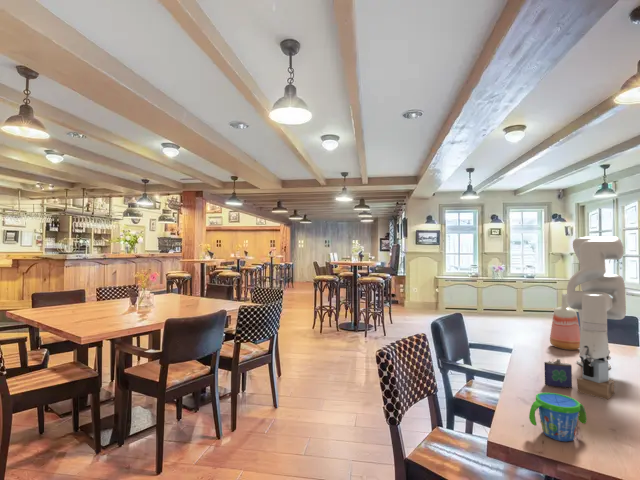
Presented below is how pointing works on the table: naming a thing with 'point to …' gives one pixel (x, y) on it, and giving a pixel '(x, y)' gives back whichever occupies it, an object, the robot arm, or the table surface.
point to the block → (596, 388)
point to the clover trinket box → (558, 374)
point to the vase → (565, 327)
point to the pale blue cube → (599, 371)
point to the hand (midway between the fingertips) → (595, 374)
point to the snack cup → (558, 415)
